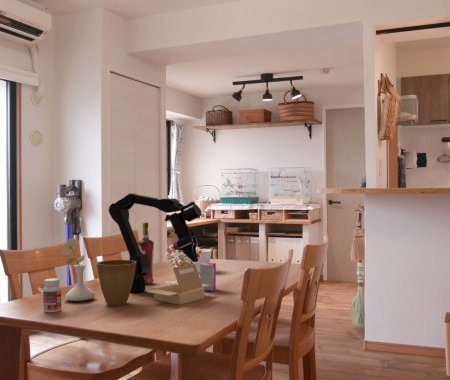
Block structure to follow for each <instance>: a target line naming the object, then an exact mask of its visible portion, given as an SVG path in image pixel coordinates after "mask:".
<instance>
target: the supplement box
mask: <svg viewBox="0 0 450 380" xmlns="http://www.w3.org/2000/svg"><path fill="white" fill-rule="evenodd" d="M216 267H217V263H216V262H209V263H202V264H200V273H199V277H200V280H201V283H202V284H208V285H211V286H207V287H203V288H204V292H213V291H215V290H216V280H217V279H216V276H217V275H216V273H217V269H216ZM200 288H201V287H200Z"/></svg>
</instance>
